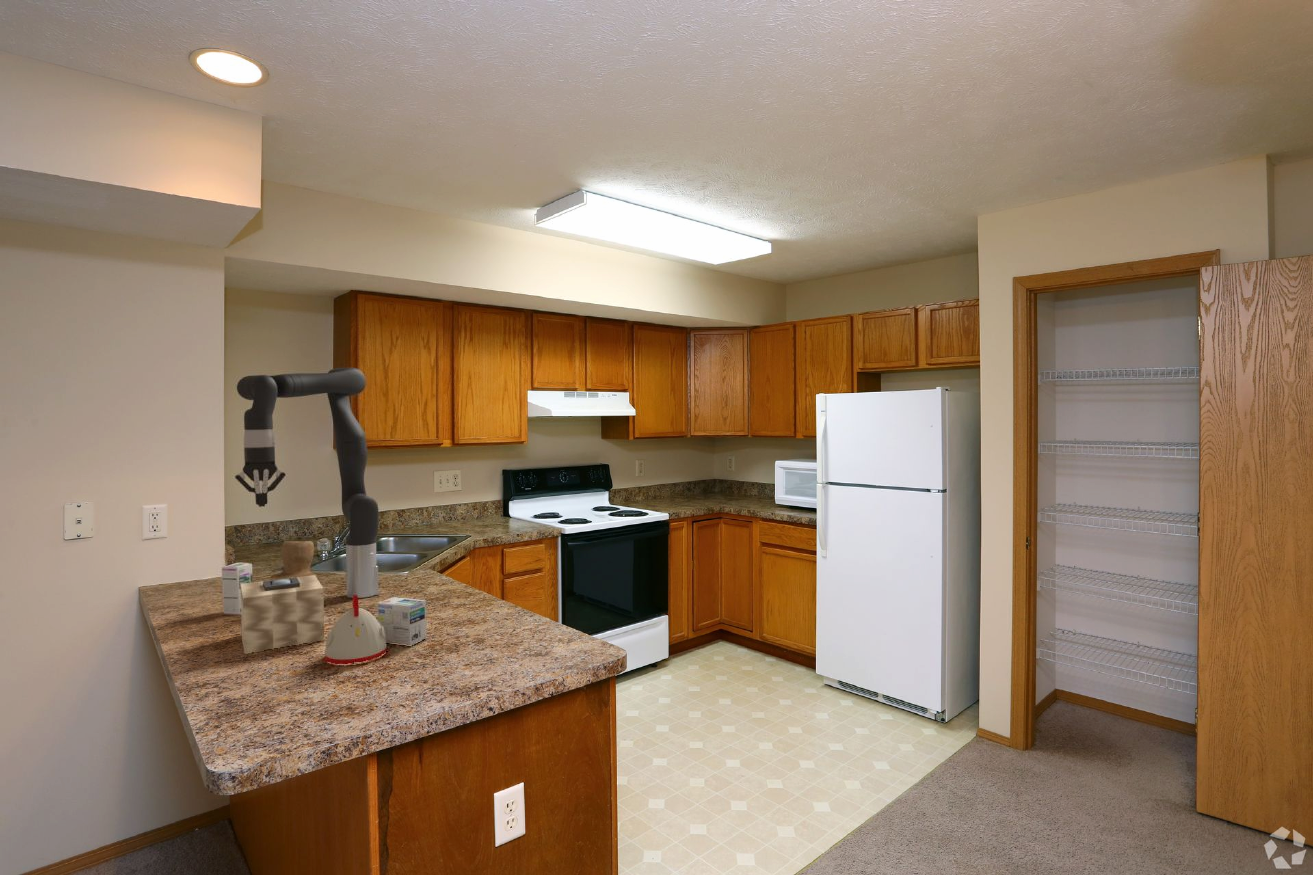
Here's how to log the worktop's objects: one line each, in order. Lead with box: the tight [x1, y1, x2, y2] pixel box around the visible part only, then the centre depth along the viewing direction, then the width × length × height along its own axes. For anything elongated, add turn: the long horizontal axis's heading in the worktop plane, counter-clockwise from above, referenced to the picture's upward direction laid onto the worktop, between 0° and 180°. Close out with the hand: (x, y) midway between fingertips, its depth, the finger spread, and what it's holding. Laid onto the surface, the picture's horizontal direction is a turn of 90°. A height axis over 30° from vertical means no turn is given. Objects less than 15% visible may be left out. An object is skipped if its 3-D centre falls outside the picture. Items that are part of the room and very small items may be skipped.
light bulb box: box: [376, 596, 427, 645], centre depth 178 cm, size 11×7×11 cm, turn 71°
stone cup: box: [269, 540, 318, 580], centre depth 244 cm, size 15×12×15 cm
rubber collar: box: [262, 577, 300, 591], centre depth 181 cm, size 8×8×1 cm
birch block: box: [240, 575, 325, 655], centre depth 181 cm, size 18×18×14 cm
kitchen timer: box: [324, 595, 388, 664], centre depth 167 cm, size 14×14×15 cm
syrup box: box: [221, 562, 254, 616], centre depth 206 cm, size 6×6×14 cm
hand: (261, 506), depth 193 cm, fingers closed
